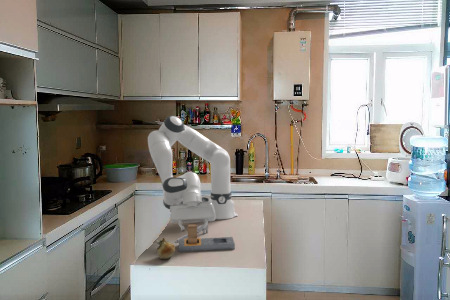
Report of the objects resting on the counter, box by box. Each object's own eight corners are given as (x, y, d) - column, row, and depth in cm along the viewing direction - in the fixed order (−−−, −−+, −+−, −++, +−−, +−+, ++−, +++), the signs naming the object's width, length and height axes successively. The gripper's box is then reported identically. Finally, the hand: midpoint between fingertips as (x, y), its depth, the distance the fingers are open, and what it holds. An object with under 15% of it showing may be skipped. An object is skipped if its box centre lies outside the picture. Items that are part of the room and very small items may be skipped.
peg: (188, 246, 168) (187, 224, 167) (197, 246, 168) (196, 224, 167) (188, 249, 164) (187, 226, 163) (197, 249, 164) (196, 226, 163)
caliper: (206, 232, 188) (206, 220, 188) (208, 233, 188) (207, 220, 187) (174, 243, 174) (174, 229, 173) (176, 243, 173) (175, 230, 172)
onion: (156, 262, 149) (155, 242, 149) (156, 255, 157) (155, 236, 157) (175, 261, 151) (175, 241, 150) (175, 254, 159) (174, 235, 158)
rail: (179, 245, 170) (179, 238, 170) (232, 242, 172) (232, 236, 172) (178, 251, 161) (178, 245, 161) (234, 249, 163) (234, 242, 163)
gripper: (169, 200, 171) (169, 227, 163) (214, 198, 173) (216, 225, 165) (170, 207, 176) (170, 234, 167) (213, 205, 178) (216, 232, 169)
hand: (193, 229), depth 166 cm, fingers open, 8 cm apart
